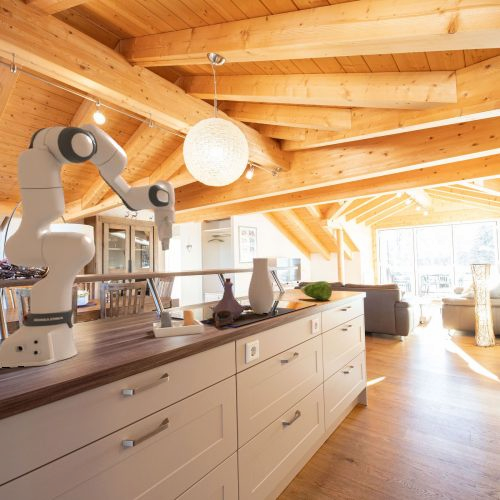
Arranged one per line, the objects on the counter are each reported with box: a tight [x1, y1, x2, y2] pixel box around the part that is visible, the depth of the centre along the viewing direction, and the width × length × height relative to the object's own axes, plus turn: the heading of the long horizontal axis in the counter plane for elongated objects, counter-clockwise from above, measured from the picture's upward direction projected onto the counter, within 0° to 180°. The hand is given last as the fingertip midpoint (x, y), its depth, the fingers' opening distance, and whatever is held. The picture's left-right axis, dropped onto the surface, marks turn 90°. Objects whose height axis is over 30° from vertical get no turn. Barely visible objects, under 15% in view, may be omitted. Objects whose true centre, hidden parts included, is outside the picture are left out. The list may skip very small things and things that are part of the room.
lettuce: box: [300, 280, 333, 301], centre depth 233 cm, size 14×23×13 cm, turn 48°
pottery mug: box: [211, 310, 235, 329], centre depth 145 cm, size 12×10×8 cm
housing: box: [152, 319, 205, 338], centre depth 129 cm, size 18×13×4 cm
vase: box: [247, 257, 275, 315], centre depth 176 cm, size 14×14×30 cm
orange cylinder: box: [183, 309, 195, 326], centre depth 131 cm, size 4×4×8 cm
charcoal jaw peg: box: [160, 310, 172, 328], centre depth 128 cm, size 4×4×8 cm
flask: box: [212, 277, 246, 320], centre depth 164 cm, size 16×16×20 cm
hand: (165, 250), depth 142 cm, fingers open, 8 cm apart
